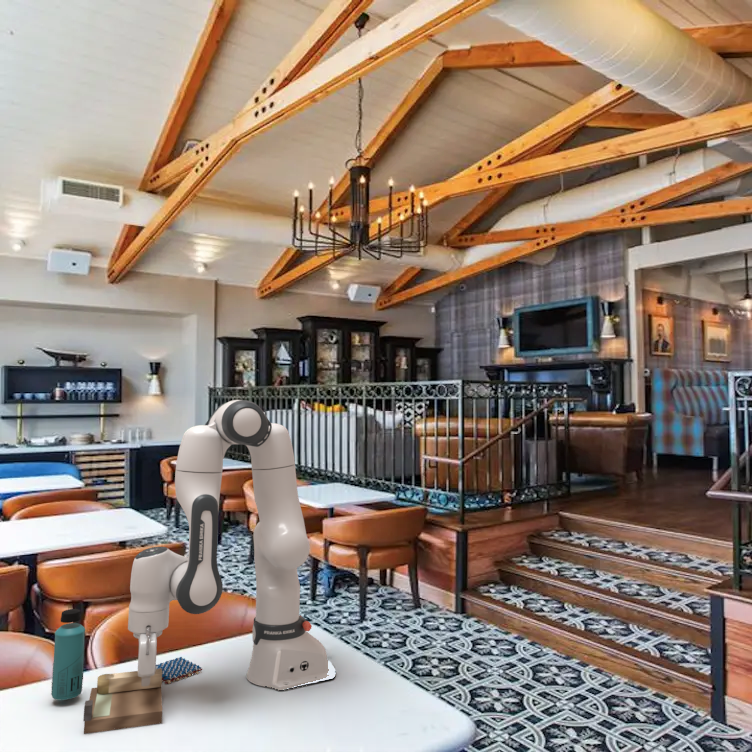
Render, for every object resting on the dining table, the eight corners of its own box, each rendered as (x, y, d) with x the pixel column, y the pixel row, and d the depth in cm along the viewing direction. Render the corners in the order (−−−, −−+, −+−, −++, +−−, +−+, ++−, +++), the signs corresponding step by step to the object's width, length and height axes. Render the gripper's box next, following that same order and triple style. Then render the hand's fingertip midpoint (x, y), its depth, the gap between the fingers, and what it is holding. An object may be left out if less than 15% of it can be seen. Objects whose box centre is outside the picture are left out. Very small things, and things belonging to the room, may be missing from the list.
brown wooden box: (160, 691, 145) (161, 667, 145) (161, 723, 130) (163, 696, 130) (90, 699, 140) (91, 674, 140) (82, 734, 125) (84, 706, 125)
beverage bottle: (69, 709, 135) (74, 616, 136) (42, 705, 136) (48, 613, 138) (88, 696, 142) (93, 607, 143) (63, 692, 143) (68, 605, 144)
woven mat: (204, 674, 156) (204, 666, 156) (166, 687, 148) (167, 678, 148) (181, 662, 163) (181, 654, 163) (144, 675, 155) (144, 666, 155)
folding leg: (96, 694, 136) (96, 680, 136) (97, 688, 139) (98, 674, 140) (161, 687, 141) (162, 673, 141) (161, 681, 144) (161, 667, 144)
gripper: (163, 633, 134) (160, 699, 133) (162, 605, 153) (159, 662, 152) (132, 636, 131) (129, 702, 131) (135, 607, 151) (132, 665, 150)
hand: (145, 681), depth 141 cm, fingers closed on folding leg, 3 cm apart
